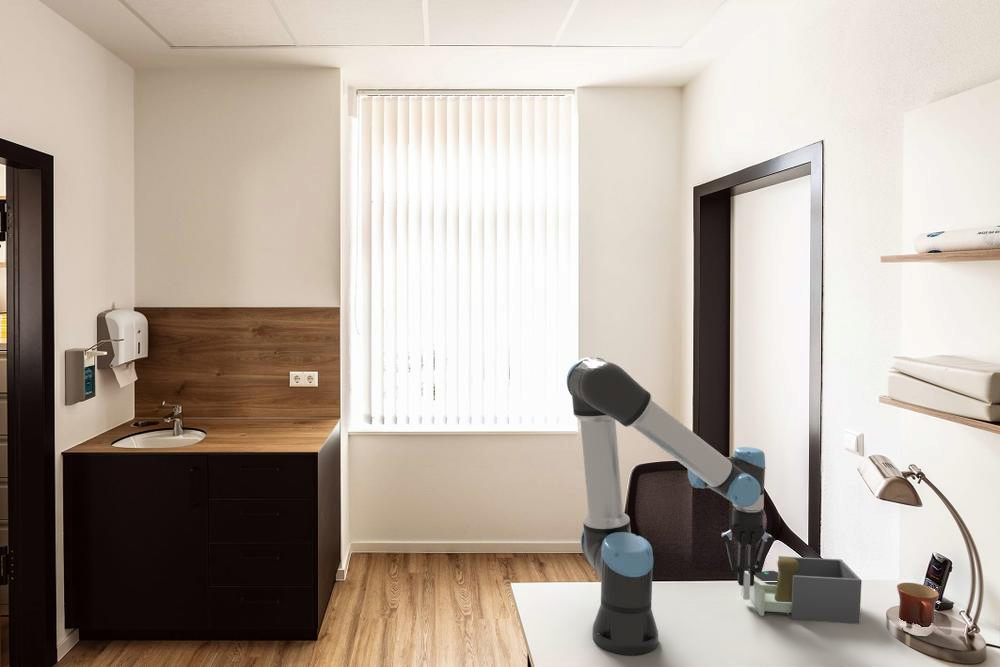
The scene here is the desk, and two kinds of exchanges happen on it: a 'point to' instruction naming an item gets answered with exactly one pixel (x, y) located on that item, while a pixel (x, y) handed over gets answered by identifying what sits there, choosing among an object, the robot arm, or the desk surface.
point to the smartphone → (768, 577)
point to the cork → (785, 578)
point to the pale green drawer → (767, 598)
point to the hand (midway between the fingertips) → (745, 597)
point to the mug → (917, 603)
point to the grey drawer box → (825, 591)
